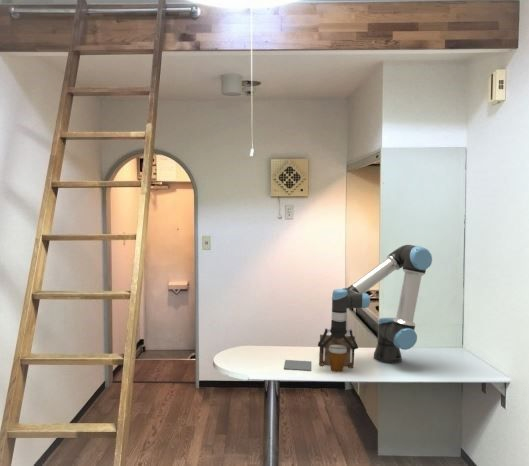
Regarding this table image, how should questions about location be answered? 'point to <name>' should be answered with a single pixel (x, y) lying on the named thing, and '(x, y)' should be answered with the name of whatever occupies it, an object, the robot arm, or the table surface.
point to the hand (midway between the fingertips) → (337, 361)
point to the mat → (297, 365)
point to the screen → (336, 342)
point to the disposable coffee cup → (337, 357)
